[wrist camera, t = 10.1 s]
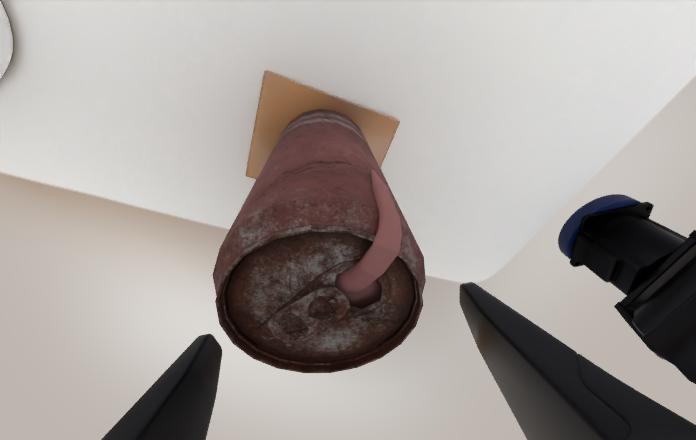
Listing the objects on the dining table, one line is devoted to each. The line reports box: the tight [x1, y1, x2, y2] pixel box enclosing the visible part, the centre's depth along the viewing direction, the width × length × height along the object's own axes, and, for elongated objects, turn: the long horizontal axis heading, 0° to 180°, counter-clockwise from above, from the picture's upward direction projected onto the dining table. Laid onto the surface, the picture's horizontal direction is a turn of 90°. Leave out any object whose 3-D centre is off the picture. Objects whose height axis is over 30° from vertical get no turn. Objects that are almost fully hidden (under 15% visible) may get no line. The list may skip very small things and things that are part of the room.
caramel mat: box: [246, 71, 400, 179], centre depth 19 cm, size 9×7×1 cm
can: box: [213, 109, 425, 373], centre depth 13 cm, size 6×6×14 cm
